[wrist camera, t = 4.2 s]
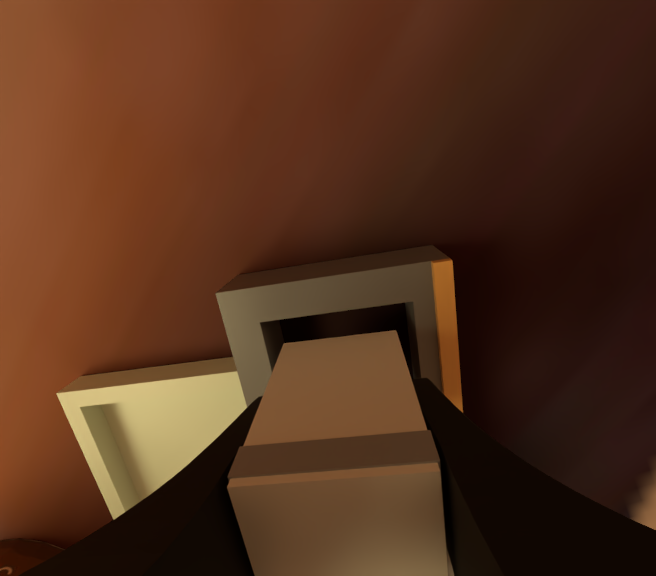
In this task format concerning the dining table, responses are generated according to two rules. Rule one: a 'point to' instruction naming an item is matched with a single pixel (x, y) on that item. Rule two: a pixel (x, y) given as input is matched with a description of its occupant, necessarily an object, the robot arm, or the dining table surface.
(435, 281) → the grey cubby shelf
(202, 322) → the dining table surface
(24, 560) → the food container
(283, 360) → the plug
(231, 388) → the tray
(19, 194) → the dining table surface
